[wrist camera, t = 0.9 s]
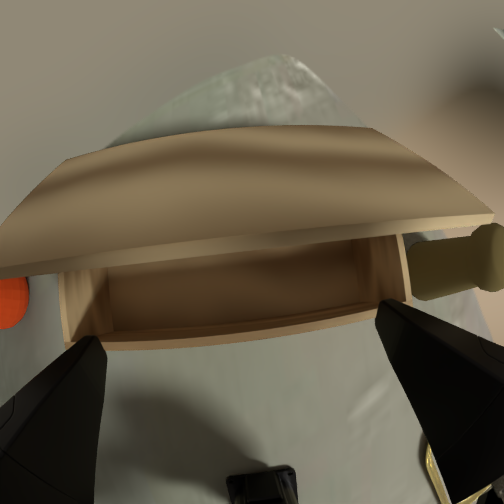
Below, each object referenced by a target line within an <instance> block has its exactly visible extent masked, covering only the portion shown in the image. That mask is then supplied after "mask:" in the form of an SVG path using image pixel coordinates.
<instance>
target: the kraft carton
mask: <svg viewBox="0 0 504 504" xmlns="http://www.w3.org/2000/svg"><path fill="white" fill-rule="evenodd" d="M58 284H59V300H60V311H61V320H62V329H63V336H64V343H65V349H66V350H68V349H69V348H70V347H71V346H72V345H74V344H75V343H76V342H77V341H78V340H80V339H81V338H82V337H83V336H85V335H96V336H97V337H98V338H99V340H100V342H101V344H102V346H103V348H104V350H105V351H120V350H153V349H172V348H186V347H199V346H210V345H220V344H229V343H237V342H246V341H253V340H260V339H267V338H274V337H281V336H287V335H293V334H299V333H304V332H310V331H315V330H320V329H326V328H331V327H335V326H340V325H345V324H349V323H354V322H358V321H363V320H367V319H371V318H375V317H376V314H377V309H378V305H379V302H380V301H381V300H384V299H389V298H392V299H395V300H397V301H399V302H402V303H404V304H406V305H409V306H411V307H413V303H412V294H411V286H410V278H409V271H408V265H407V259H406V253H405V247H404V242H403V237H402V234H394V235H385V236H376V237H367V238H358V239H349V240H340V241H331V242H322V243H313V244H305V245H296V246H287V247H278V248H269V249H261V250H252V251H243V252H234V253H225V254H217V255H208V256H199V257H191V258H182V259H173V260H164V261H156V262H147V263H138V264H130V265H121V266H113V267H104V268H95V269H87V270H78V271H70V272H61V273H58Z"/></svg>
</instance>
